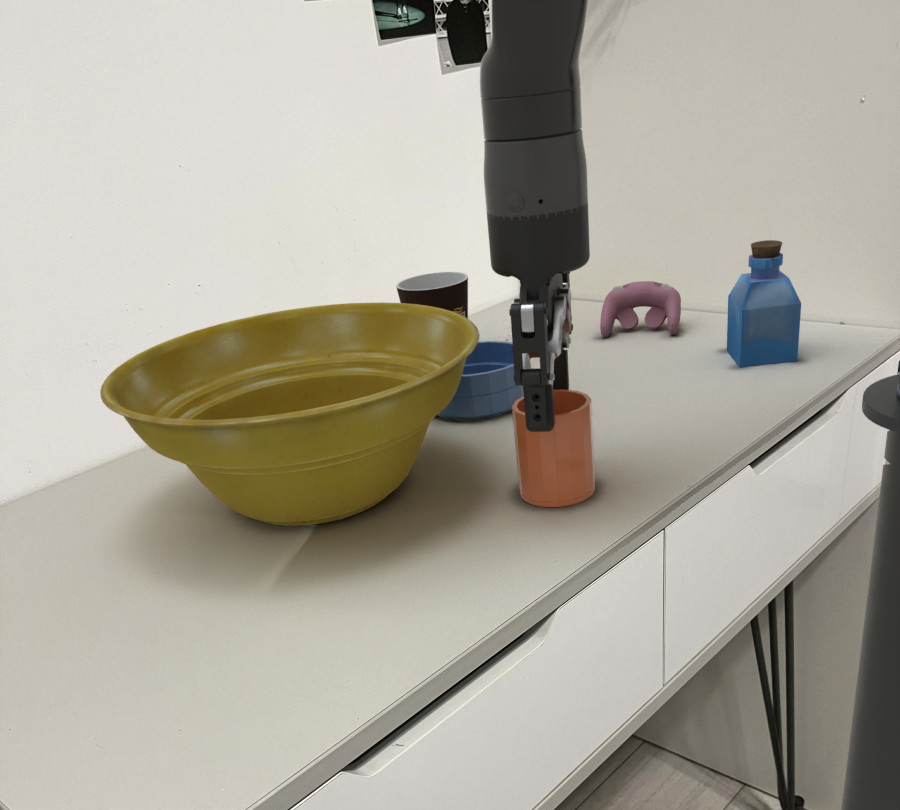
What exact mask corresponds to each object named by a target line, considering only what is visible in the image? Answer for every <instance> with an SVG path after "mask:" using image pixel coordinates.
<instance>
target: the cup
mask: <svg viewBox="0 0 900 810" xmlns="http://www.w3.org/2000/svg"><path fill="white" fill-rule="evenodd" d="M553 395H554V413H555V425H554V427H553V429H552V430H551V431H548V432H531V431H529V430H528V429H527V428H526V419H525V405H524V396H523V397H521V398H520V399H518V400H516V401H515V402H514V404H513V406H512V410H511V412H512V423H513V435H514V444H515V445H514V446H515V455H516V467H517V479H518V490H519V491H520V492H519V493H520V497H521V499H522V500H523V501H524V502H525V503H527V504H529V505H533V506H537V507H541V508H542V507H543V508H563V507H568V506H573V505H578V504H579V503H582V502H584V501H586V500H588V499H589V498H591V497H592V496H593V494H594V493H595V491H596V473H595V472H596V471H595V453H594V452H595V451H594V428H593V407H592V398H591V397H590V396H589V395H588V394H587V393H585V392H582V391H579V390H573V389H569V390H565V389H561V390H553Z"/></svg>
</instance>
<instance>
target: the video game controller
mask: <svg viewBox="0 0 900 810" xmlns="http://www.w3.org/2000/svg"><path fill="white" fill-rule="evenodd" d="M639 307H640V308H641V307H647V308H650V309H648V310H647V312H646V313H645V316H644V323H645V325H646V326H647V327H648V328H649V329H650V330H658V329H660V328H661V327H662V326H663V325H664V323H665V321H666V320H667V328H668V332H669V334H670V335H671V336H675V335H676V334H677V332H678V330H679V327H680V322H681V316H682V315H681V314H682V298H681V295H680V293H679V291H678V290H677V289H676V288H675V287H673V286H671V285H669V284H668V283H662V282H657V281H653V280H646V281H645V280H644V281H632V282H629V283H626V284H623V285H618V286H614V287H613V288H612V289H611V290H610V291H609V292H608V293H607V295H606V296H605V298H604V301H603V304H602V307H601V312H600V323H599V329H600V334H601V336H602V337H603V338H607V337H609V335H610V334H611V332H612V331H613V327H614V325H615V321H616V320H617V321H618V322H619V324H620V325H621V327H622V328H623V329H624V330H626V331H631V330H634V329H635V328H637V326H638V325H639V316H638V314H637V312H636V311H635V310H634V309H635V308H639Z"/></svg>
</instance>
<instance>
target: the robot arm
mask: <svg viewBox="0 0 900 810" xmlns="http://www.w3.org/2000/svg"><path fill="white" fill-rule="evenodd" d="M588 1H589V0H491V39H490V45H489V47H488V48H487V50H486V51H485V53H483V55H482V58H481V61H480V67H479V93H480V106H481V117H482V129H483V131H482V132H483V139H484V141H483V146H484V149H483V150H484V152H483V154H484V155H483V186H484V198H485V209H486V220H487V221H486V223H487V235H488V246H489V257H490V266H491V269H492V271H493V272H494V273H495V274H497V275H499V276H502V277H506V278H510V277H512V278H516V279H517V280H518V281H519V284H520V285H519V293H518V294H519V295H518V298H516V297H515V298H514V299H513V303H511V304H510V308H509V310H508V311H509V312H508V313H509V317H510V327H511V328H510V329H511V342H512V344H513V360H514V381H515V384H516V386H523V392H524V405H525V419H526V428H527V429H528V430H529V431H531V432H548V431H551V430H552V429H553V427H554V425H555V413H554V395H553V390H561V389H565V390H570V373H569V353H568V352H569V351H568V349H569V348H570V345H571V342H572V340H571V337H570V336H571V335H572V333H573V331H574V324H573V316H572V305H571V304H572V292H571V291H572V290H571V283H570V274H571V273H572V272H574V271H576V270H579V269H581V268H583V267H584V266H586V264H587V263H588V262H589V261H590V257H591V254H590V253H591V252H590V251H591V250H590V224H589V223H590V222H589V193H588V189H589V188H588V166H587V165H588V164H587V156H586V149H585V144H584V138H583V137H584V135H583V130H582V128H583V117H582V93H581V92H582V89H581V75H580V74H581V73H580V54H581V48H582V47H581V46H582V42H583V37H584V32H585V31H584V30H585V26H586V17H587V9H588ZM533 358H535V359H536V358H537V359H538V358H539V368H531V369H529V360H530V361H531V359H533ZM898 374H900V360H898V364H897V373H896V375H898ZM897 398H898V399H899V401H900V376H899V384H898V387H897Z"/></svg>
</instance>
